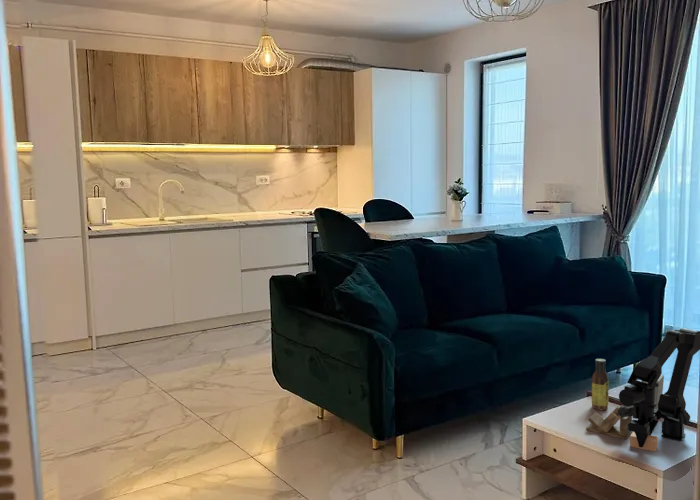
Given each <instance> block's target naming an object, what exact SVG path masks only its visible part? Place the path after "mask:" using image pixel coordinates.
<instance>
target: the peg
mask: <svg viewBox="0 0 700 500" xmlns="http://www.w3.org/2000/svg"><path fill="white" fill-rule="evenodd" d="M629 437H630V438H629V447H632V448H636V449H641V450H644V451H645V450H646V451H650V452H656V451H657V449H658V441H659V440H658V436H655V435H652V434H651V435H648V437H647V439H646V442H645V444H644V446H643V447H639V444H638V441H637V437H636V434H635V433H634V432H632V434H631V435H630V436H629Z"/></svg>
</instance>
